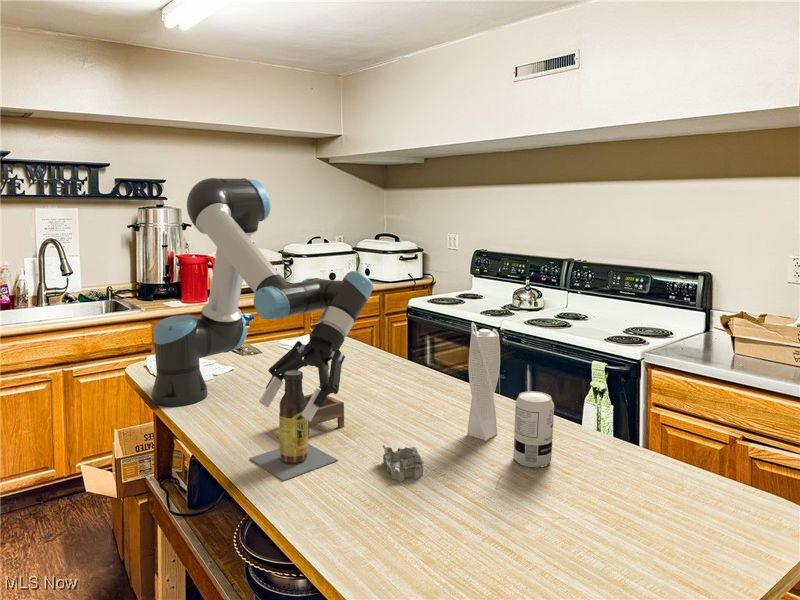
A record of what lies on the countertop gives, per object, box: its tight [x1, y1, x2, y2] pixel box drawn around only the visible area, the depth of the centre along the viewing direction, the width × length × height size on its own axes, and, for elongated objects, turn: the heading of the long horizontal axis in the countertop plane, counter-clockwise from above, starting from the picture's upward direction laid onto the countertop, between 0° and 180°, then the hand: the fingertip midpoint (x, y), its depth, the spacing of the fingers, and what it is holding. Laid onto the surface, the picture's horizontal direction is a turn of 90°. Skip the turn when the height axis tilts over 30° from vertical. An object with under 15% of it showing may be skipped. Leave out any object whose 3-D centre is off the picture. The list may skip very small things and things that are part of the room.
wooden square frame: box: [304, 393, 345, 440], centre depth 150 cm, size 11×12×6 cm
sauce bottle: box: [278, 369, 309, 464], centre depth 130 cm, size 7×6×20 cm
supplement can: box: [513, 390, 555, 468], centre depth 131 cm, size 8×8×15 cm
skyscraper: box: [466, 321, 501, 442], centre depth 144 cm, size 8×8×28 cm
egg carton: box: [382, 444, 425, 482], centre depth 128 cm, size 11×8×4 cm
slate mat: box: [249, 443, 339, 482], centre depth 132 cm, size 14×14×1 cm
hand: (283, 411), depth 128 cm, fingers open, 13 cm apart
